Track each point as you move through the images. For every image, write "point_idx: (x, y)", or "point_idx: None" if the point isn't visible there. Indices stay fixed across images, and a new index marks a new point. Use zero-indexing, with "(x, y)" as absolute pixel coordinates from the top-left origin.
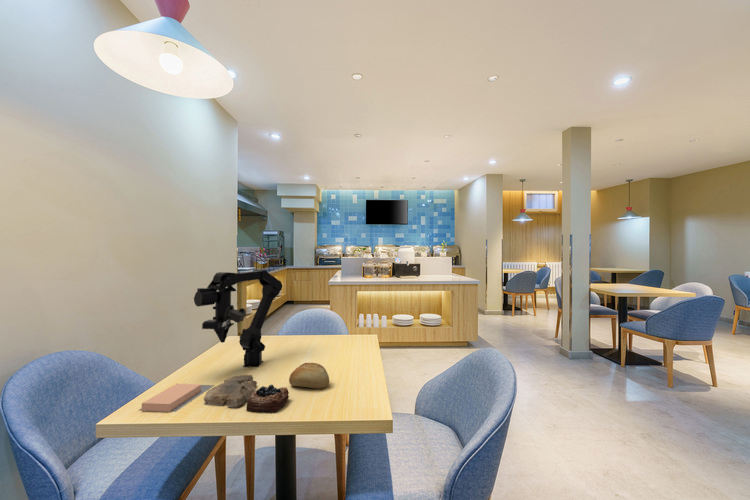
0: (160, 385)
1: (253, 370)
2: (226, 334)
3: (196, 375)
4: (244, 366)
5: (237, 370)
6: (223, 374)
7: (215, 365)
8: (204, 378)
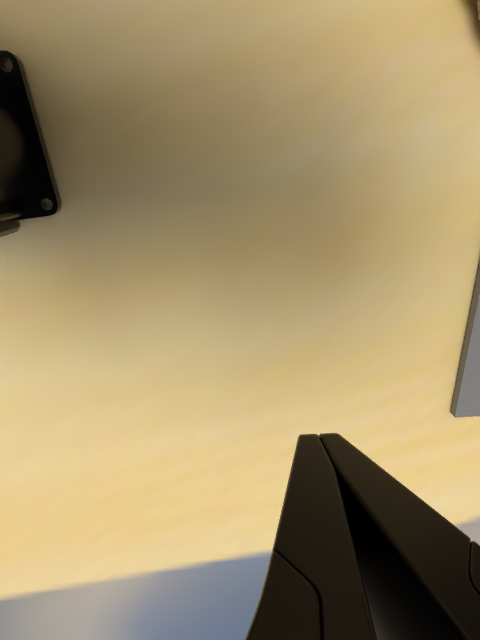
0: None
1: (118, 59)
2: (312, 531)
3: (279, 445)
4: (58, 200)
5: (146, 221)
6: (247, 283)
7: (77, 446)
8: (330, 367)
